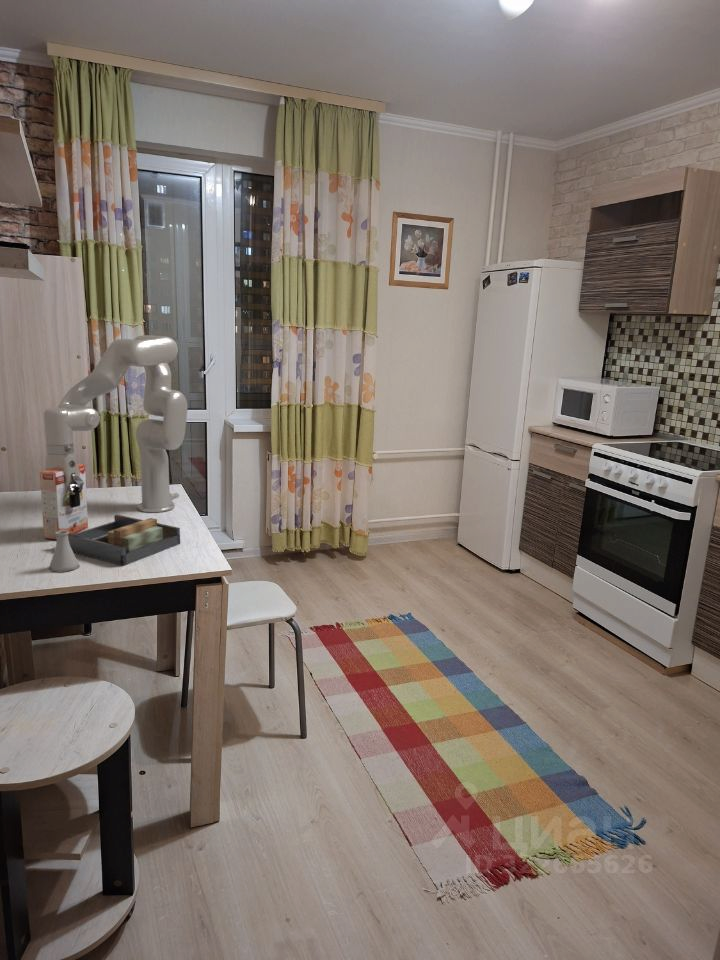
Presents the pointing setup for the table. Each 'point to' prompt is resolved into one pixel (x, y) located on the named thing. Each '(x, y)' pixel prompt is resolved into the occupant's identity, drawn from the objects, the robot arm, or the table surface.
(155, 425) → the robot arm
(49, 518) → the cracker box
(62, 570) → the flask
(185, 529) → the table surface
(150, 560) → the table surface
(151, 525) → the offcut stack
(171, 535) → the tray
